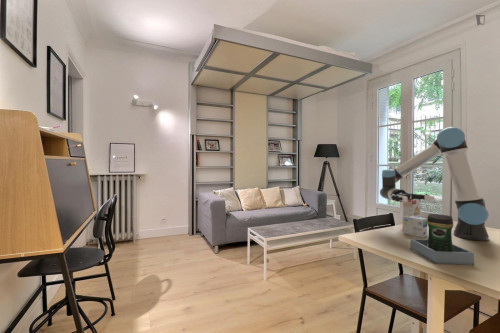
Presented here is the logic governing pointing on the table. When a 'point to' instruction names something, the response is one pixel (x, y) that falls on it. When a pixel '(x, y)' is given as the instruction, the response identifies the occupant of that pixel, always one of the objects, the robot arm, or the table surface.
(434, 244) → the coffee jar
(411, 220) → the light bulb box
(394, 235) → the table surface
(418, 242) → the tray
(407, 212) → the cracker box
